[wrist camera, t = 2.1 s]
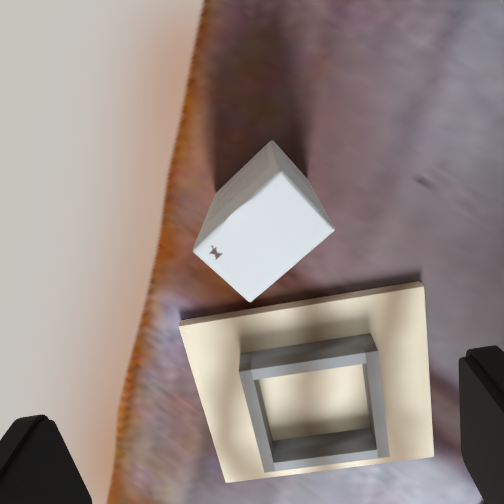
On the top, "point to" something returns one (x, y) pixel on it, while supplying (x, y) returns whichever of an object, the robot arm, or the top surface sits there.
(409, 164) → the top surface
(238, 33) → the top surface
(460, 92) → the top surface
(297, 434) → the holder board
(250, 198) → the skincare box
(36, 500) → the robot arm
